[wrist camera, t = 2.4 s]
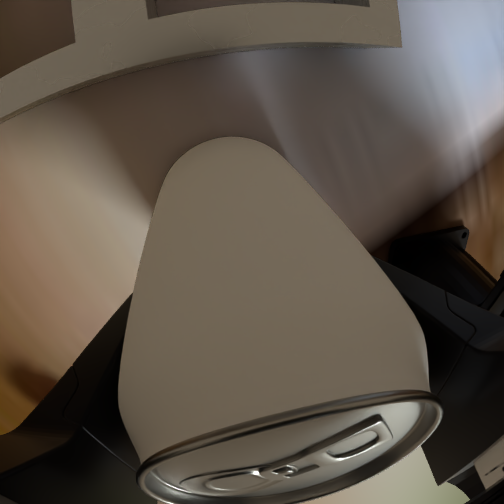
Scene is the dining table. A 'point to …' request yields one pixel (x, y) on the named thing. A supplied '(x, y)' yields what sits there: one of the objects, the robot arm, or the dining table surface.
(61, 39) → the dining table surface
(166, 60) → the grey compartment tray
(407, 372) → the can
